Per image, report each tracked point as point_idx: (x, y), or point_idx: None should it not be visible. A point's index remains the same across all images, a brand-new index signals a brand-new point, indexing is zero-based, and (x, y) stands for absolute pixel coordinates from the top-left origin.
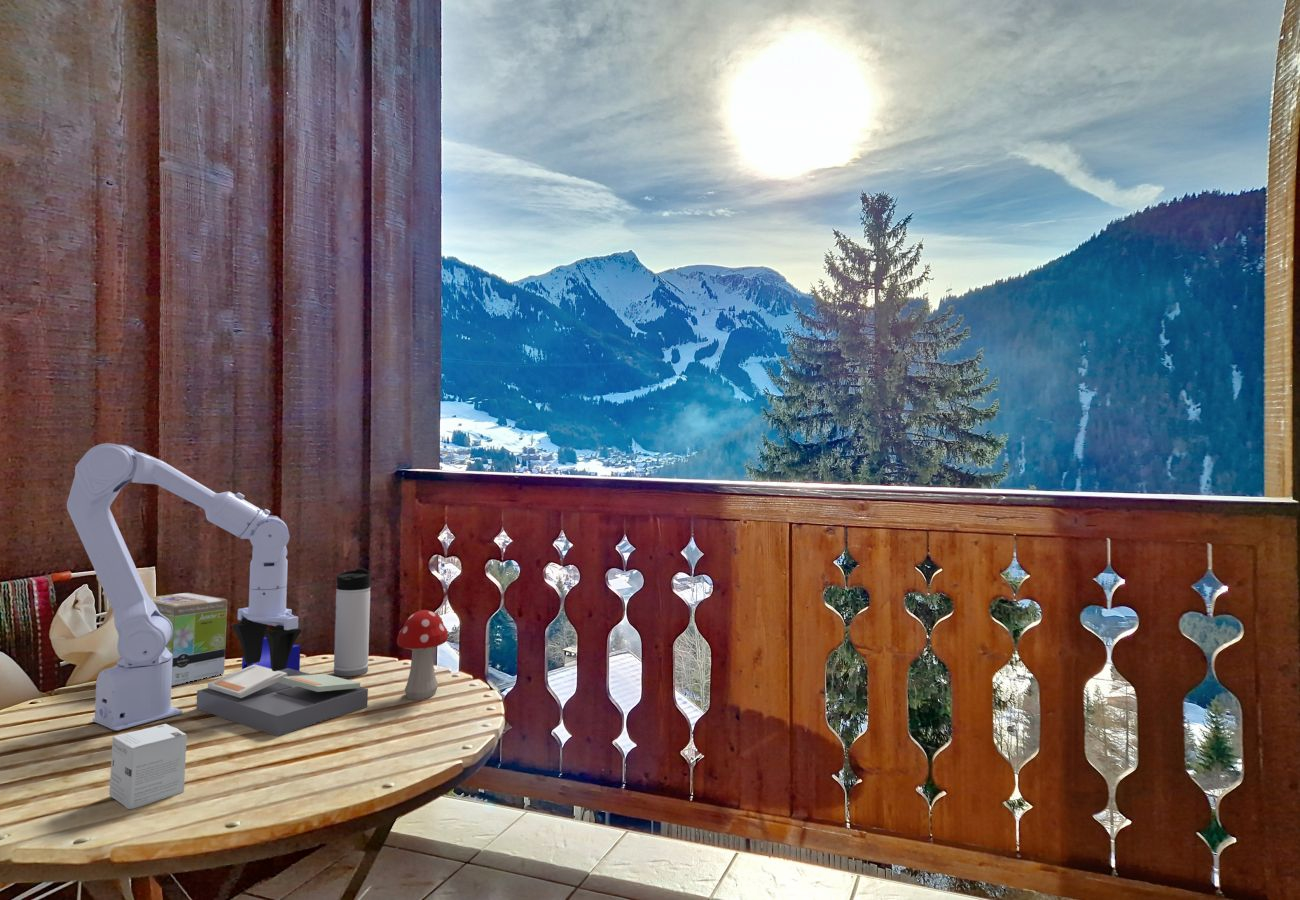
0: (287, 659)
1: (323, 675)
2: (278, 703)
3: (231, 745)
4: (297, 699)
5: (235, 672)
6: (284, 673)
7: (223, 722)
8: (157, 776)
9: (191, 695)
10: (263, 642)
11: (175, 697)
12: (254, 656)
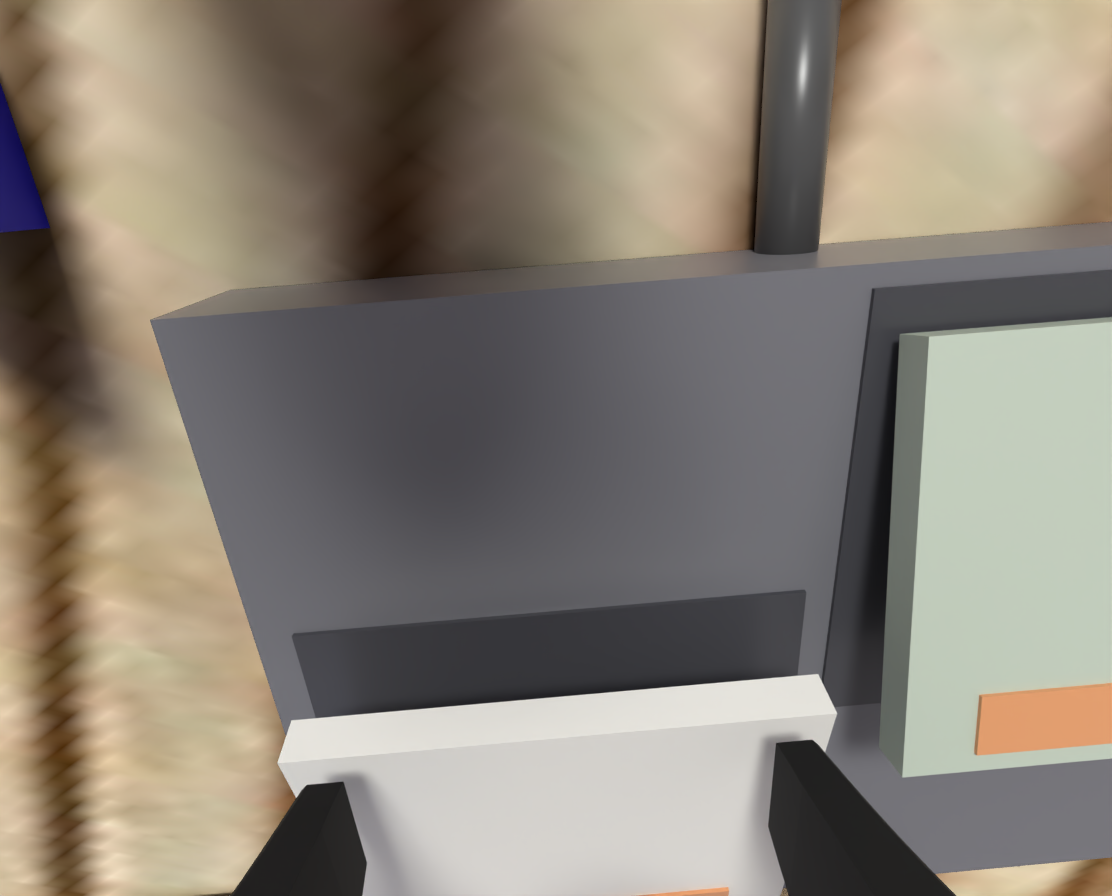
0: (881, 824)
1: (1001, 401)
2: (1025, 777)
3: (987, 874)
4: None
5: None
6: (817, 724)
7: None
8: None
9: (76, 767)
10: None
11: (63, 819)
12: (331, 891)
